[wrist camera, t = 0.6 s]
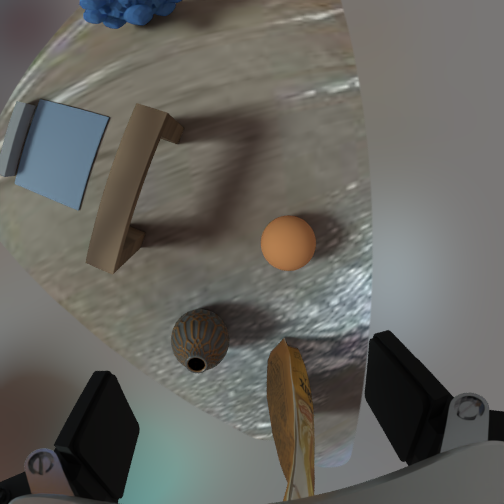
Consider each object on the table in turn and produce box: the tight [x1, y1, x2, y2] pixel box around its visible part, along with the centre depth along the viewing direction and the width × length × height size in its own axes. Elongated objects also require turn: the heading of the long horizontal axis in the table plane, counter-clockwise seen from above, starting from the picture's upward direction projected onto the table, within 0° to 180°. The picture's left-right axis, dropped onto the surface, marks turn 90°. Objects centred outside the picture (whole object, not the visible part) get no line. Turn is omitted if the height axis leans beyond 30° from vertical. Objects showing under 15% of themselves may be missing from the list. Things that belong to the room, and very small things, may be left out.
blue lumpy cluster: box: [80, 0, 182, 29], centre depth 22 cm, size 12×7×12 cm, turn 107°
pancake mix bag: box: [267, 337, 315, 501], centre depth 28 cm, size 7×19×28 cm, turn 7°
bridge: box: [86, 103, 184, 274], centre depth 28 cm, size 3×15×10 cm, turn 157°
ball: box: [261, 216, 316, 271], centre depth 33 cm, size 6×6×6 cm
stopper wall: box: [0, 101, 36, 177], centre depth 28 cm, size 10×2×2 cm, turn 157°
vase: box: [171, 309, 229, 373], centre depth 34 cm, size 7×7×9 cm
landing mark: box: [15, 99, 109, 210], centre depth 30 cm, size 12×12×1 cm
